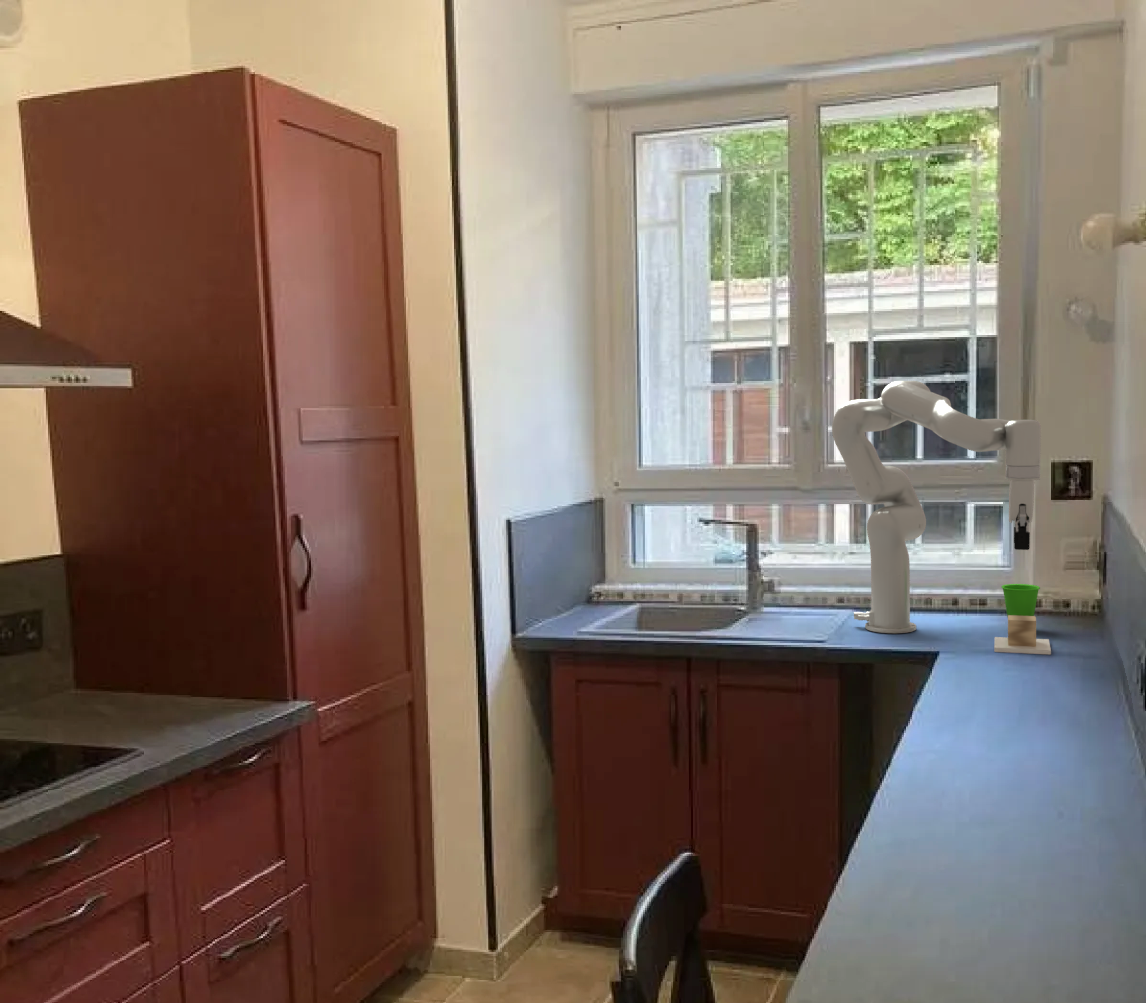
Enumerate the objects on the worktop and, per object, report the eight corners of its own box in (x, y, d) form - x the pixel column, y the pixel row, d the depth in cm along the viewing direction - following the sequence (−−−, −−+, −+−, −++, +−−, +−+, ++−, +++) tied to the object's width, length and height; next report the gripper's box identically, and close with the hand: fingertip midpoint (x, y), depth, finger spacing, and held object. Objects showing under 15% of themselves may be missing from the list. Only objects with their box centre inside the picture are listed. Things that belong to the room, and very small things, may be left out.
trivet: (994, 651, 256) (994, 647, 255) (994, 641, 267) (994, 637, 267) (1050, 654, 251) (1050, 650, 251) (1048, 643, 262) (1048, 639, 262)
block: (1008, 645, 257) (1008, 620, 257) (1007, 640, 263) (1007, 615, 262) (1036, 646, 255) (1036, 621, 255) (1035, 641, 261) (1035, 616, 260)
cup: (1045, 633, 274) (1046, 589, 273) (1008, 634, 274) (1009, 590, 273) (1031, 626, 283) (1031, 583, 282) (995, 626, 283) (995, 584, 282)
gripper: (1005, 470, 265) (1004, 541, 266) (1005, 475, 249) (1004, 551, 250) (1039, 470, 262) (1037, 542, 264) (1041, 476, 246) (1040, 552, 248)
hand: (1021, 546), depth 257 cm, fingers open, 9 cm apart
